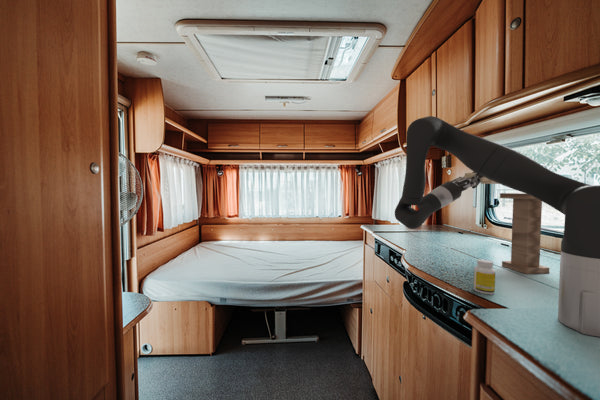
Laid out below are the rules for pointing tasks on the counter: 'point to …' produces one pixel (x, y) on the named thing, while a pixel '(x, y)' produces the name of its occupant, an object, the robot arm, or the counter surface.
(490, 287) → the supplement bottle
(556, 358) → the counter surface
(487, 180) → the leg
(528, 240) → the stand
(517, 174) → the robot arm
